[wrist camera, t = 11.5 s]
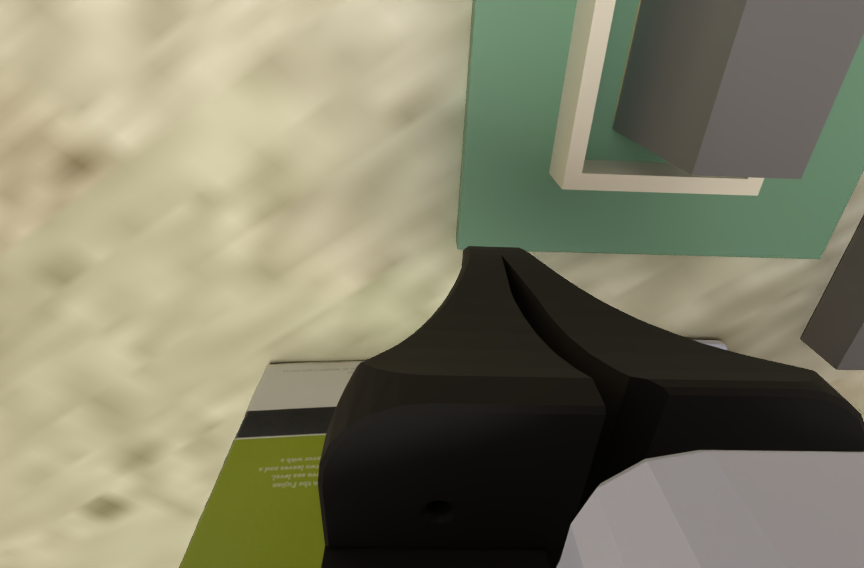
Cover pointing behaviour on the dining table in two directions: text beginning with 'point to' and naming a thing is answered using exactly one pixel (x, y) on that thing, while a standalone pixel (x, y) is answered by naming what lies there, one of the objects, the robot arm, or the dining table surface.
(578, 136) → the board
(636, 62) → the plug
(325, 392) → the tea box
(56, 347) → the dining table surface
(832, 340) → the grey flat block
